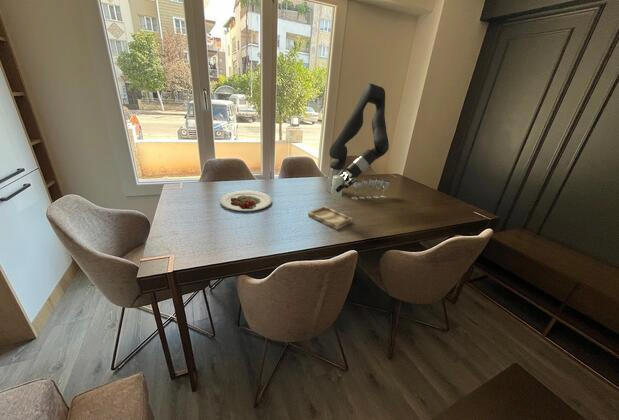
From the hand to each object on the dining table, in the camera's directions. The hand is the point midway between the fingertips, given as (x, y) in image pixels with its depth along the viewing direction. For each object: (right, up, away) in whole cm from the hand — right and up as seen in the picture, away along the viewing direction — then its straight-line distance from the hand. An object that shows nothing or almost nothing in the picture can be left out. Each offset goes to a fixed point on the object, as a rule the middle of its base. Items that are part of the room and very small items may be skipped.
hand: (334, 188), depth 133 cm
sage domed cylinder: (+1, -5, +3) cm, 6 cm away
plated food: (-51, -7, +19) cm, 55 cm away
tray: (-2, -16, +8) cm, 18 cm away
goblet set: (+29, -2, +44) cm, 53 cm away
